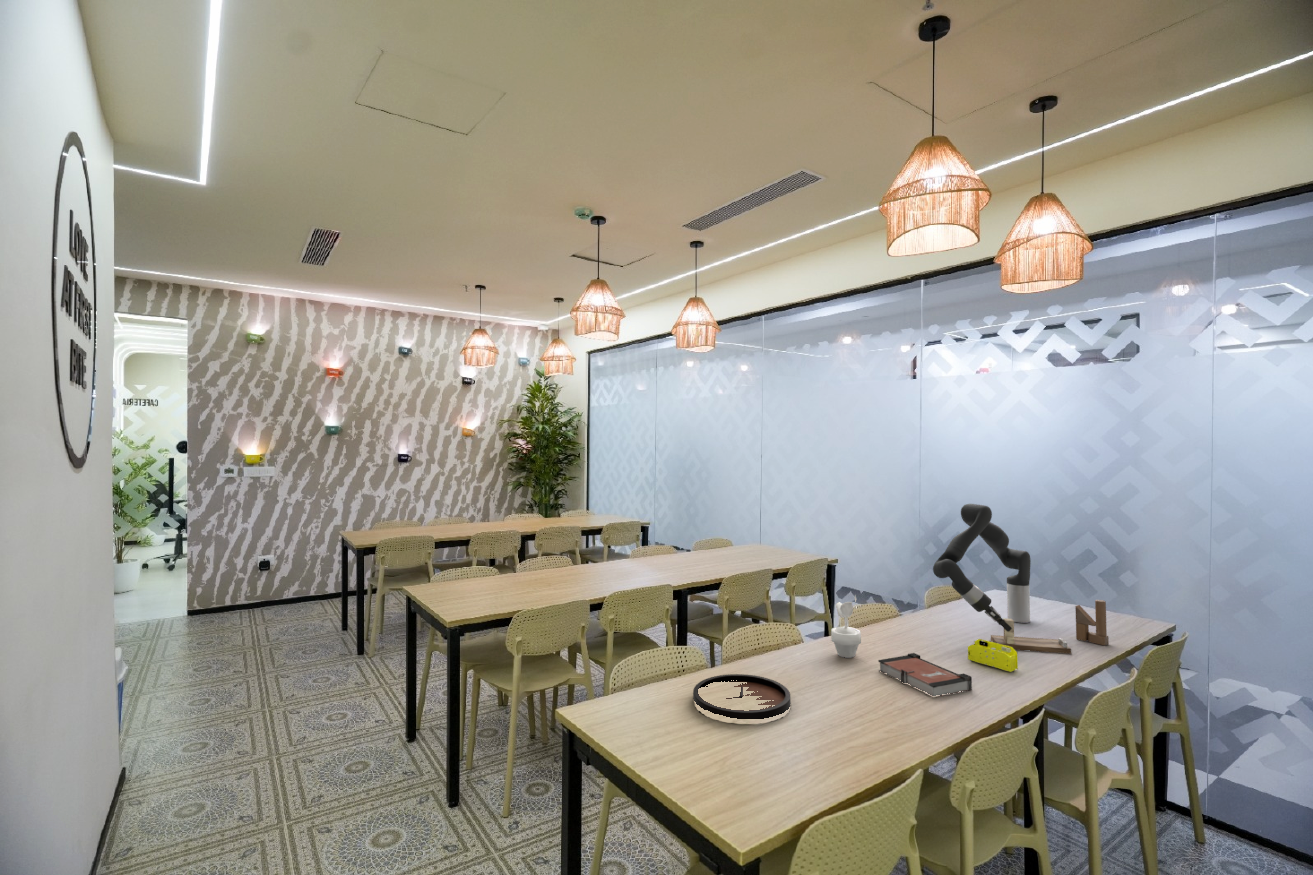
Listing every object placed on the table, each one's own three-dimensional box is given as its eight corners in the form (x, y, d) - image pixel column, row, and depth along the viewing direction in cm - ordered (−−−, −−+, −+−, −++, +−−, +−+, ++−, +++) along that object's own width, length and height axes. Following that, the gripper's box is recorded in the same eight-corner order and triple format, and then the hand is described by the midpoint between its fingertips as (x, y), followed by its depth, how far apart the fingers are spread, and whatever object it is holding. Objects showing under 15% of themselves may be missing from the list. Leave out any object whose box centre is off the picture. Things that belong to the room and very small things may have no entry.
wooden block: (1079, 637, 261) (1078, 595, 261) (1109, 644, 252) (1107, 600, 252) (1075, 639, 259) (1074, 597, 259) (1105, 646, 250) (1104, 602, 250)
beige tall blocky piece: (1002, 638, 255) (1002, 617, 255) (1010, 639, 254) (1010, 617, 254) (1007, 643, 248) (1006, 621, 249) (1015, 644, 248) (1014, 622, 248)
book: (877, 672, 225) (876, 659, 225) (914, 666, 231) (913, 652, 231) (932, 699, 200) (931, 684, 200) (971, 691, 207) (971, 676, 207)
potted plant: (865, 660, 236) (864, 596, 237) (835, 660, 236) (834, 596, 237) (855, 649, 249) (854, 588, 249) (827, 650, 249) (826, 588, 250)
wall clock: (759, 722, 176) (673, 695, 196) (759, 736, 176) (674, 707, 196) (807, 688, 200) (726, 667, 220) (807, 700, 200) (726, 678, 220)
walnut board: (990, 639, 260) (990, 630, 260) (1060, 644, 253) (1060, 634, 253) (998, 648, 248) (998, 638, 248) (1071, 653, 241) (1071, 643, 241)
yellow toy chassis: (1018, 671, 224) (1017, 648, 224) (1010, 674, 221) (1009, 651, 221) (975, 658, 237) (975, 637, 238) (967, 661, 234) (967, 639, 235)
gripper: (986, 595, 247) (1019, 626, 244) (978, 587, 261) (1009, 616, 257) (972, 608, 248) (1004, 638, 245) (965, 599, 262) (995, 628, 259)
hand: (1007, 627), depth 251 cm, fingers open, 8 cm apart
